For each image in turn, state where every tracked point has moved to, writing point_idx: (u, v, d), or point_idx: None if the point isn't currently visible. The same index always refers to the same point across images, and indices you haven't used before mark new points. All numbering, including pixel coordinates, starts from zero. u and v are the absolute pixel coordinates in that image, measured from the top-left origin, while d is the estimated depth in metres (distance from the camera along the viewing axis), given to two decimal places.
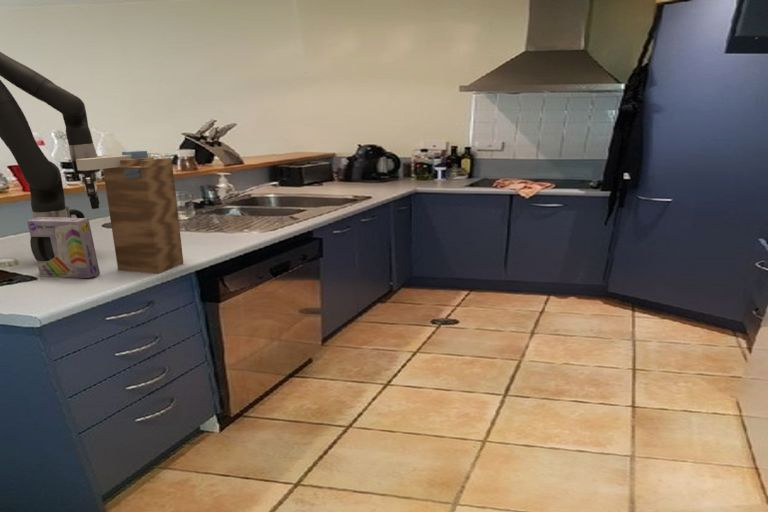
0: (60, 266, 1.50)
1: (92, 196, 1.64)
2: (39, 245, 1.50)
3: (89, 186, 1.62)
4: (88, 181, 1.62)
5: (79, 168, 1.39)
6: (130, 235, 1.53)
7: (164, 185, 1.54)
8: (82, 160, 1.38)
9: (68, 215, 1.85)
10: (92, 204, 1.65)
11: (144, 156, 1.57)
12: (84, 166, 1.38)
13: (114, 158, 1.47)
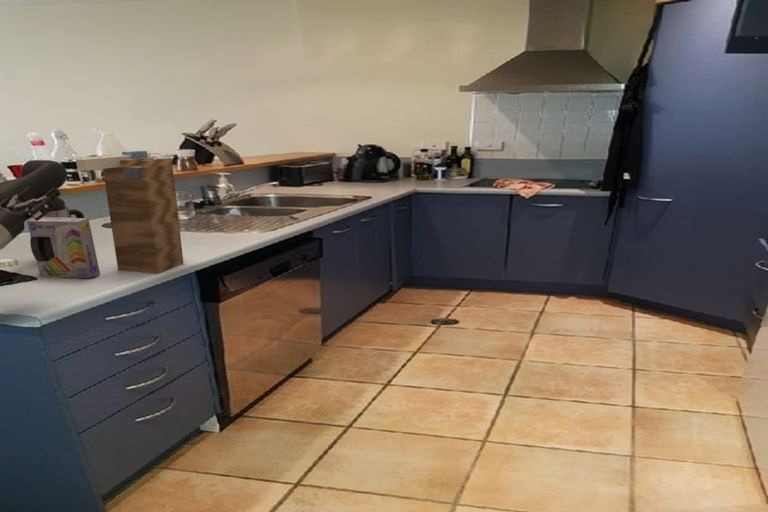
0: (60, 266, 1.50)
1: None
2: (39, 245, 1.50)
3: None
4: None
5: (79, 168, 1.39)
6: (130, 235, 1.53)
7: (164, 185, 1.54)
8: (82, 160, 1.38)
9: (67, 215, 1.85)
10: (23, 191, 1.29)
11: (144, 156, 1.57)
12: (84, 166, 1.38)
13: (114, 158, 1.47)
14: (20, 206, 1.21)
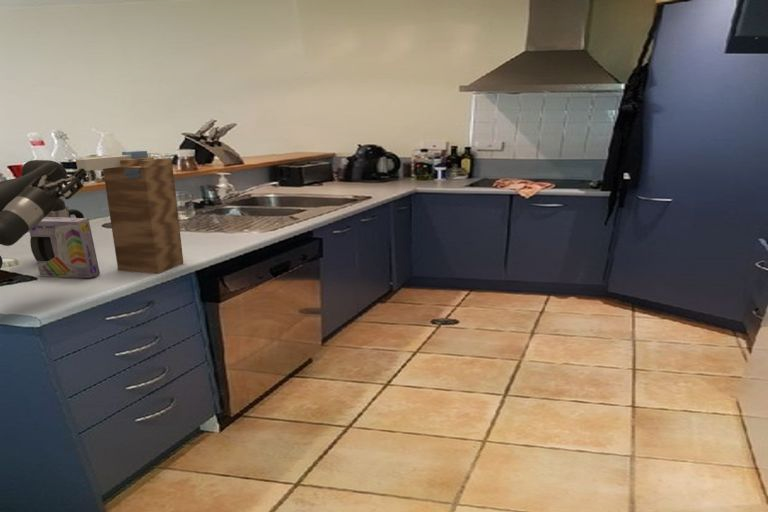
0: (60, 266, 1.50)
1: None
2: (39, 245, 1.50)
3: None
4: None
5: (79, 168, 1.39)
6: (130, 235, 1.53)
7: (164, 185, 1.54)
8: (82, 160, 1.38)
9: (67, 215, 1.85)
10: (51, 172, 1.36)
11: (144, 156, 1.57)
12: (84, 166, 1.38)
13: (114, 158, 1.47)
14: (51, 186, 1.28)
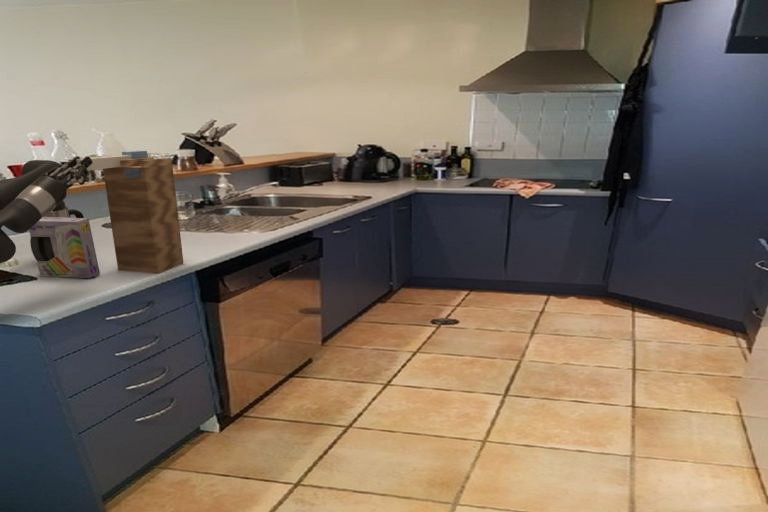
0: (60, 266, 1.50)
1: None
2: (39, 245, 1.50)
3: None
4: None
5: None
6: (130, 235, 1.53)
7: (164, 185, 1.54)
8: None
9: (67, 215, 1.85)
10: None
11: (144, 156, 1.57)
12: None
13: (114, 158, 1.47)
14: (63, 174, 1.31)
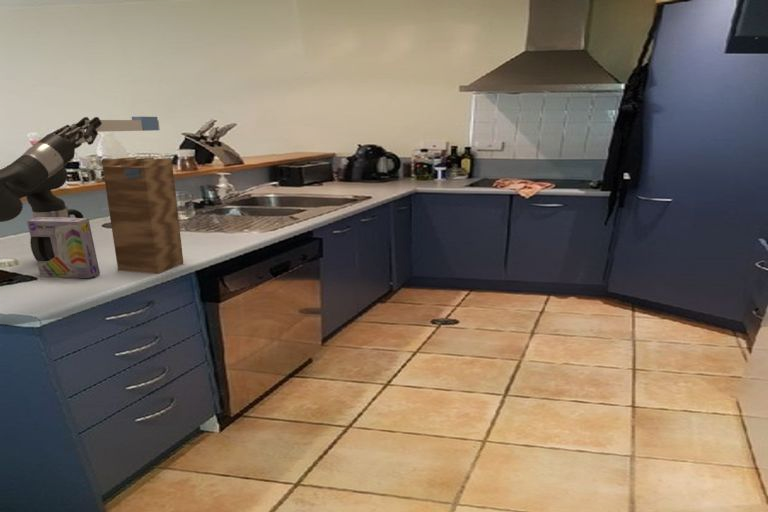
0: (60, 266, 1.50)
1: None
2: (39, 245, 1.50)
3: None
4: None
5: None
6: (130, 235, 1.53)
7: (164, 185, 1.54)
8: None
9: None
10: (80, 121, 1.34)
11: (154, 122, 1.53)
12: None
13: (124, 121, 1.42)
14: (71, 133, 1.26)
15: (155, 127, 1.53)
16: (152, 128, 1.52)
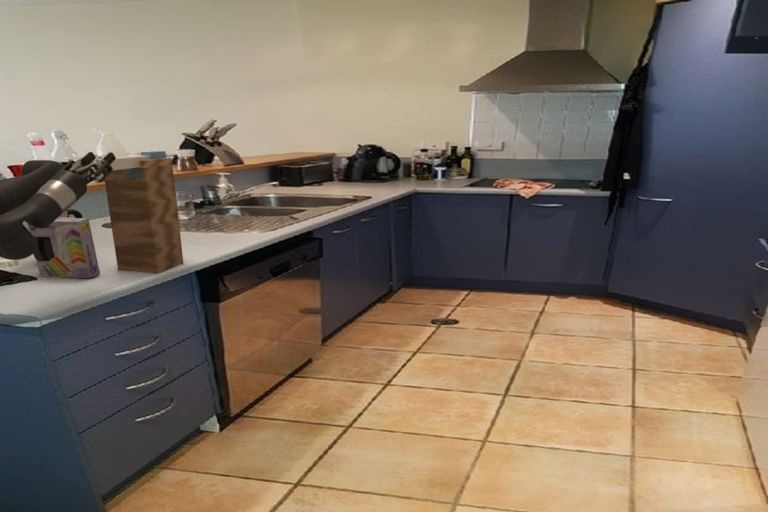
0: (60, 266, 1.50)
1: None
2: (39, 245, 1.50)
3: None
4: None
5: None
6: (130, 235, 1.53)
7: (164, 185, 1.54)
8: None
9: None
10: (85, 156, 1.36)
11: (163, 156, 1.55)
12: None
13: (134, 158, 1.45)
14: (83, 169, 1.28)
15: None
16: None
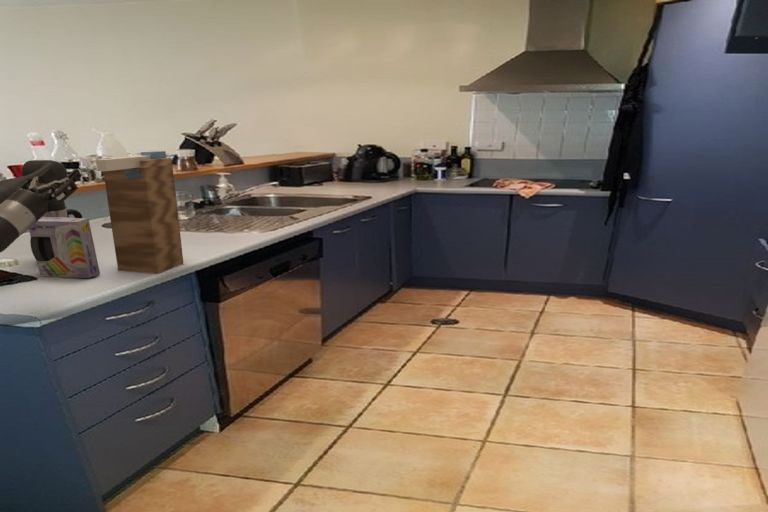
0: (60, 266, 1.50)
1: None
2: (39, 245, 1.50)
3: None
4: None
5: (99, 169, 1.37)
6: (130, 235, 1.53)
7: (164, 185, 1.54)
8: (103, 161, 1.36)
9: None
10: (43, 173, 1.27)
11: (163, 156, 1.55)
12: (104, 167, 1.36)
13: (134, 158, 1.45)
14: (43, 188, 1.19)
15: None
16: None
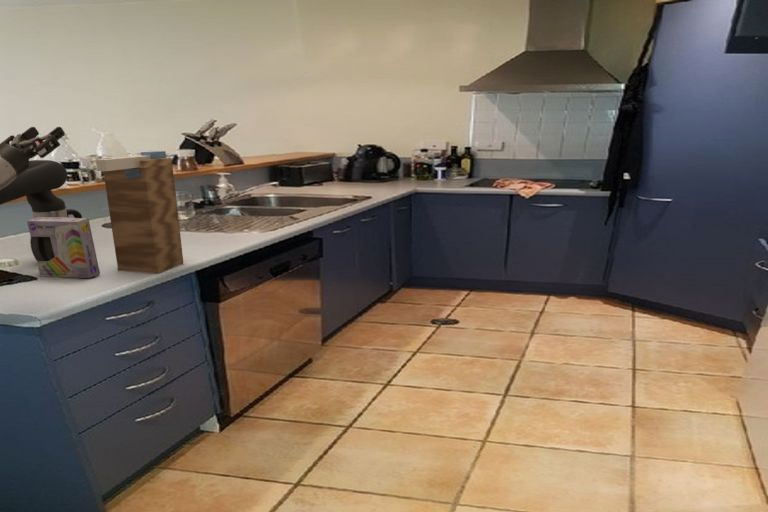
0: (60, 266, 1.50)
1: None
2: (39, 245, 1.50)
3: None
4: None
5: (99, 169, 1.37)
6: (130, 235, 1.53)
7: (164, 185, 1.54)
8: (103, 161, 1.36)
9: None
10: None
11: (163, 156, 1.55)
12: (104, 167, 1.36)
13: (134, 158, 1.45)
14: (24, 143, 1.18)
15: None
16: None
